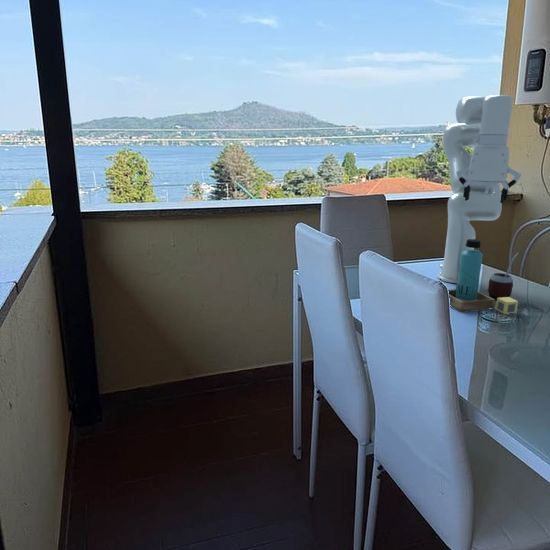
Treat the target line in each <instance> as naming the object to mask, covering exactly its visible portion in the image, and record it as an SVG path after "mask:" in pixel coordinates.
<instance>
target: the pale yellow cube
mask: <svg viewBox="0 0 550 550" xmlns="http://www.w3.org/2000/svg"><path fill="white" fill-rule="evenodd" d="M495 304H496V305H495V310H496V309H497V310H499V311H501V312H502V313H504V314H507V315H510V314H509V313H516V314H517V311H518V304H519V301H518V300H516V299H514V298H512V297H510V296H509V297H501V298H497V299H496V302H495ZM502 313H501V314H502ZM504 314H503V315H504Z"/></svg>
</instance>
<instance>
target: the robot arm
mask: <svg viewBox="0 0 550 550" xmlns="http://www.w3.org/2000/svg"><path fill="white" fill-rule="evenodd" d="M513 102H514V99H513V97H512V96H511V95H508V94H495V95H494V94H493V95H483V96H482V95H481V96H480V95H479V96H478V95H477V96H464V97H461V98H460V99H459V100H458V102H457V105H456V109H455V119H456V122H457V123H452V124H450V125H448V126H446V128H445V129H444V131H443V138H442V144H443V145H442V146H443V151H444V153H445V156H446V159H447V161H448V164H449V177H450V180H449V181H450V188H451V191H452V192H453V193H454V194H452V195H450V196H449V198H448V200H447V231H446V240H445V250H444V256H443V257H444V259H443V263H442V264H439V268H441V272H438V274H437V278H438V279H439V280H440V279H441V281H443V282H446V283H450V284H457V282H458V281H457V280H458V279H457V278H458V274H459V271H458V270H459V267H460V266H459V265H460V260H461V253H462V252H463V251H464V250H467V249H473V250H475V248H470V247H466V242H467V240H468V239H476V231H475V230H476V229H475V228H474V227H473V226H472V224H471V223H470V221H487V222H489V221H496V220H497V219H499V218H500V216H501V213H502V207H503V206H502V205H503V204H504V203H505V202H504V201H507V199H508V192H509V190H510V188H511V187H513V186H514V185H516V183H517V182H518V181H519V179H520V178H521V177H522V173H520V172H518V171H516V170H515V169H514V168H511V167H509V163H510V146H507V144H508V138H509V137H508V136H509V131H510V130H509V129H510V123H511V119H512V118H511V117H512V110H513ZM465 148H473V150H472V154H471V153H470V152H469V151H468V150H466V149H465ZM508 173H509V174H510V175H511V176H513V178H512V180H511V181H509V182H508V181H507V178H508ZM500 184H501V185H502V189H501V187H500Z"/></svg>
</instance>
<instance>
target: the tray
mask: <svg viewBox="0 0 550 550" xmlns="http://www.w3.org/2000/svg"><path fill="white" fill-rule="evenodd" d="M447 290H448V291H449V298H450V305H451V306H452V307H451V306H450V307H451V308H453V309H454V308H455V309H454V310H456V311H458V312H459V313H465V312H466V311H467V312H476V311H477V310H478V311H485V310H484V309H488V310H490V309H489V308H494V309H495V306H496V305H495V304H496V299H493V298H491V297H489V295H486V294H485V293H482V292H481V291H478V293H477V298H476V300H471V301H469V300H462V299H459V298H457V297H456V289H447Z"/></svg>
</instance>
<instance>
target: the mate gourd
mask: <svg viewBox="0 0 550 550" xmlns="http://www.w3.org/2000/svg"><path fill="white" fill-rule="evenodd" d="M519 254H520V253H519V252H517V253H516V254H515V255H513V257H512V259H510V262H509V265H508V267H507V270H506V273H501V272H498V273H497V272H496V273H493V274H492V275H491V276H490V277H489V280H488V287H487V291H488V292H487V293H488V296H489V297H491V298H493V299H495V300H497V298H501V297H510V296H511V294H512V291H513V287H514V279H513V277H512V276H511V275H510V274H509V273H510V270H511V267H512V264H513V263H514V260H515V258H516V257H517V256H518V255H519Z"/></svg>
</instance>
